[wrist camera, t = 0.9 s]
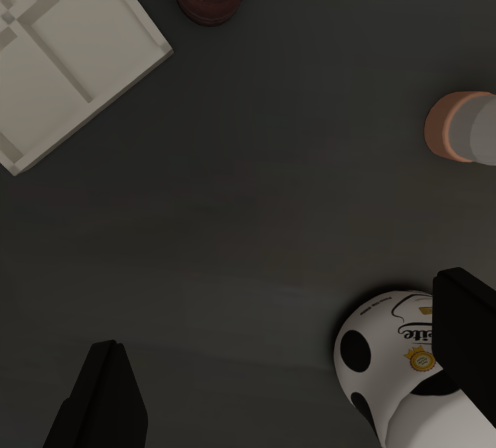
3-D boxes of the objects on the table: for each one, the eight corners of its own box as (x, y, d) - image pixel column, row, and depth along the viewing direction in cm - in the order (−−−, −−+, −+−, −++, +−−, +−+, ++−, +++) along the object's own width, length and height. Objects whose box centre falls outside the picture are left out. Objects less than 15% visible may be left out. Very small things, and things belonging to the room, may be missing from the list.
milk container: (430, 258, 47) (561, 348, 31) (455, 355, 54) (575, 474, 37) (308, 313, 47) (371, 433, 31) (346, 403, 54) (417, 544, 37)
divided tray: (30, 169, 37) (14, 176, 34) (-145, -7, 30) (-186, -19, 27) (174, 52, 35) (172, 48, 32) (21, -158, 29) (0, -190, 26)
